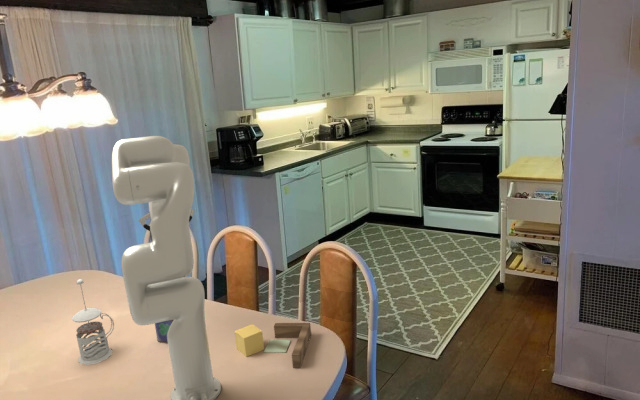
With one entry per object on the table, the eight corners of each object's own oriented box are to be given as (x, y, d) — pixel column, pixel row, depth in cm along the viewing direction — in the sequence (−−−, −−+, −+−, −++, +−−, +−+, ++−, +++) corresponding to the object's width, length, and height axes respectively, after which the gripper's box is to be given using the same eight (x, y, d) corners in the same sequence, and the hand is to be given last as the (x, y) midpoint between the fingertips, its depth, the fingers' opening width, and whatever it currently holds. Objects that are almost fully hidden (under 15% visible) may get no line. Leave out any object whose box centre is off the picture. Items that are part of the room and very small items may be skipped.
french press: (73, 356, 149) (57, 280, 143) (112, 341, 156) (98, 268, 151) (82, 369, 142) (65, 289, 136) (123, 353, 149) (108, 276, 143)
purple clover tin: (155, 341, 154) (150, 310, 152) (162, 337, 157) (157, 306, 154) (178, 346, 150) (173, 314, 148) (184, 341, 153) (180, 310, 150)
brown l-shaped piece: (300, 368, 133) (298, 354, 132) (256, 367, 135) (255, 354, 134) (311, 334, 150) (310, 322, 150) (272, 334, 152) (271, 322, 152)
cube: (264, 349, 144) (262, 331, 143) (246, 357, 141) (243, 338, 140) (254, 341, 149) (252, 324, 148) (236, 349, 146) (234, 331, 144)
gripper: (135, 194, 147) (145, 248, 151) (192, 185, 155) (200, 236, 159) (132, 191, 153) (141, 242, 157) (187, 182, 161) (194, 231, 165)
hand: (170, 239), depth 158 cm, fingers open, 9 cm apart
